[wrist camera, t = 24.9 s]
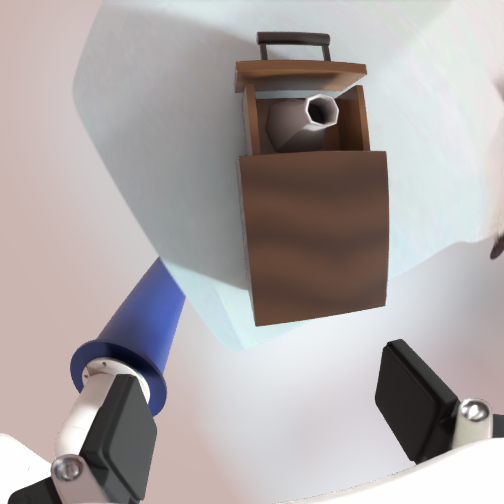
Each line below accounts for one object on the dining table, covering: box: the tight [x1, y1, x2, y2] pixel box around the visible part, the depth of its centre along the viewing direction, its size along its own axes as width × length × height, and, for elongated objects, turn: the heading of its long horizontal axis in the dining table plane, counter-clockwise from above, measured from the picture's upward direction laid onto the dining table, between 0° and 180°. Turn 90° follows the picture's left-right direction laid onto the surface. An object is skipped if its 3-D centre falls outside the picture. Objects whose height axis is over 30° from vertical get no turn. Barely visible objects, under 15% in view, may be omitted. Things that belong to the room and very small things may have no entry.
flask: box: [266, 93, 339, 153], centre depth 28 cm, size 7×7×10 cm
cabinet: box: [236, 151, 389, 327], centre depth 33 cm, size 17×15×10 cm
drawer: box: [234, 32, 370, 156], centre depth 30 cm, size 20×13×8 cm, turn 5°
